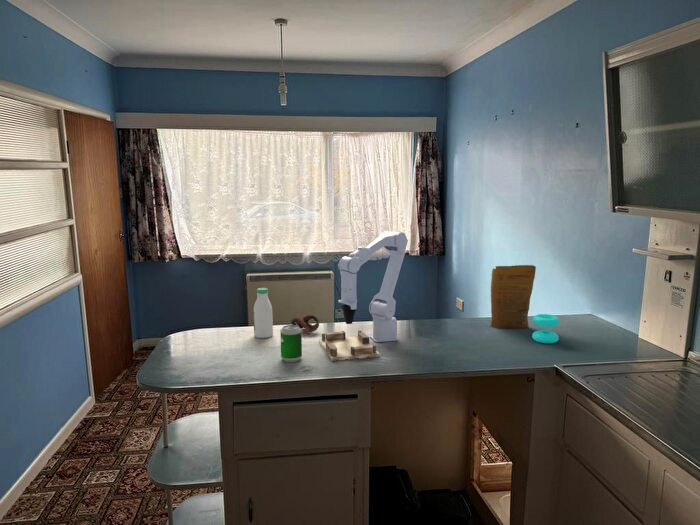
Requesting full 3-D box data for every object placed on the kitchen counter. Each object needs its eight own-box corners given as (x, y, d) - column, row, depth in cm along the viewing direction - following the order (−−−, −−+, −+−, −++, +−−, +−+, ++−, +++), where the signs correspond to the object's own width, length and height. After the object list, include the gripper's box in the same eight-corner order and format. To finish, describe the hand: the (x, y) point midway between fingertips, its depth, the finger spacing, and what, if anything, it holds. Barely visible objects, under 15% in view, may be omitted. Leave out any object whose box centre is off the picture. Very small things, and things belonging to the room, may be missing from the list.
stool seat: (362, 338, 202) (362, 329, 201) (379, 356, 181) (379, 346, 180) (319, 342, 197) (318, 333, 196) (331, 361, 176) (331, 350, 176)
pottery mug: (317, 328, 218) (321, 315, 213) (314, 344, 210) (319, 330, 205) (290, 322, 216) (294, 308, 212) (287, 337, 209) (291, 323, 204)
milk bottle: (276, 334, 207) (275, 288, 204) (264, 339, 200) (262, 291, 197) (263, 332, 211) (261, 286, 208) (250, 336, 204) (248, 289, 201)
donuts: (554, 321, 191) (529, 316, 197) (553, 346, 193) (527, 340, 199) (563, 316, 198) (538, 312, 205) (562, 340, 200) (537, 335, 206)
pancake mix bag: (534, 330, 214) (538, 266, 209) (489, 329, 215) (492, 265, 211) (530, 325, 220) (533, 263, 216) (486, 324, 222) (489, 263, 217)
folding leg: (327, 340, 195) (327, 334, 195) (325, 338, 197) (325, 332, 197) (345, 338, 197) (345, 332, 197) (343, 337, 200) (343, 330, 199)
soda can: (305, 357, 180) (304, 325, 178) (296, 364, 173) (295, 331, 171) (286, 354, 183) (286, 323, 181) (277, 361, 176) (276, 329, 174)
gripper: (334, 285, 192) (334, 319, 194) (343, 293, 178) (343, 329, 180) (351, 284, 194) (351, 318, 196) (362, 292, 180) (362, 328, 182)
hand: (348, 323), depth 188 cm, fingers closed
